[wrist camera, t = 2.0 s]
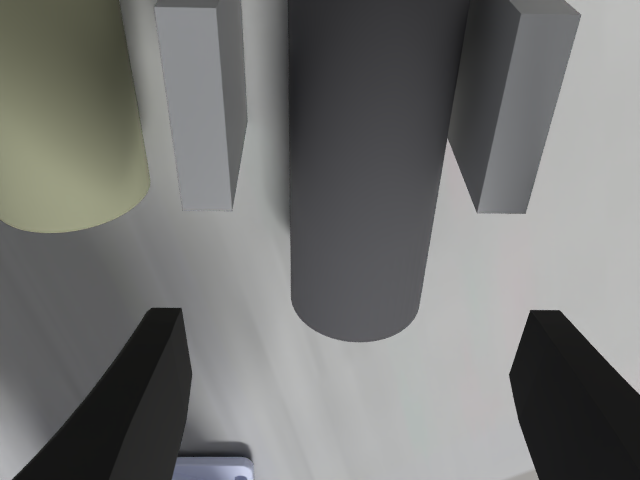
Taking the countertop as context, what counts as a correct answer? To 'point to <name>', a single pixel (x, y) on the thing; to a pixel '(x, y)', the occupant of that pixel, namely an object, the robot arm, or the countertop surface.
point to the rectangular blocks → (467, 112)
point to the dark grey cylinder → (367, 155)
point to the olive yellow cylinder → (67, 116)
